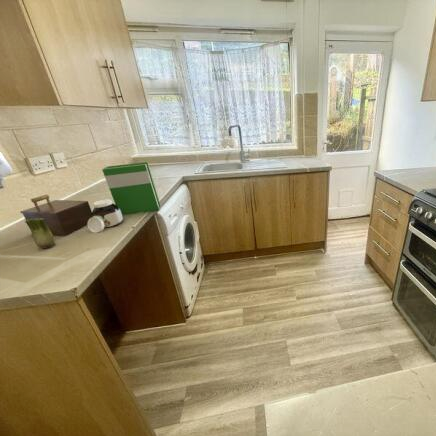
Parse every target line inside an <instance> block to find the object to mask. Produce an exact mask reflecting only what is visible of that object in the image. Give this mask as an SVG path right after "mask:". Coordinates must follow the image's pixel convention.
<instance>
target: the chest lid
mask: <svg viewBox="0 0 436 436" xmlns="http://www.w3.org/2000/svg"><path fill="white" fill-rule="evenodd" d="M44 200H45V201H46V203H42V204H39V205H38V202H41V201H44ZM30 201H31V203H33V205H34V206H33V207H29V208H27V209H24V210H21V211H19V212H20V214H23V213H25V214H50V215H57V214H60V213H62V212H65V211H68V210H70V209H73V208H76V207H78V206H81V205H83V204H86V203H89V201H88V200H68V199H67V200H66V199H54V200H52V201H51V200H50V195H48V194H44V195H39V196H37V197H33V198H31V199H30Z"/></svg>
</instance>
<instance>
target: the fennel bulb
mask: <svg viewBox="0 0 436 436" xmlns="http://www.w3.org/2000/svg"><path fill="white" fill-rule="evenodd" d="M34 221H35V222H34ZM34 221H33V219H30V220H26V219H25V220H24V222H25V223H26V225H27V227H28V228H29V230H30V232H31V235H32V236H31V237H32V239H33V241H34V243H35V245H36V246H37V247H38V248H40V249H48V248H51V247H53V246H55V244H56V242H55V241H56V240H55V238H54V235H52V233H51V231H50V229H49V228H48V226H47V224H46V222H45V220H44V218H42V219H38V218H37V219H34Z"/></svg>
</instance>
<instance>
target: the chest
mask: <svg viewBox="0 0 436 436" xmlns="http://www.w3.org/2000/svg"><path fill="white" fill-rule="evenodd" d="M92 212H93V210H92V208H91V206H90V204H89V202H88V203H86V204H83V205H81V206H78V207H76V208H73V209H70V210H68V211H65V212H62V213H60V214H57V215H50V214H25V213H22V215H23V217H24V220H25V221H26V220H30V219H33V221H34V219H37V218H38V219H42V218H44V220H45V222H46V224H47V226H48V228H49V229H50V231H51V233H52V235H53V236H56V237H57V236H58V237H67V236H69V235H71V234H73V233H75V232H77V231H80V230H81V229H84V228H85V227H88V226H87V223H88V220H89V219H90V218H92V217H93V216H92ZM34 222H35V221H34Z"/></svg>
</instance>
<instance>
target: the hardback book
mask: <svg viewBox="0 0 436 436" xmlns="http://www.w3.org/2000/svg"><path fill="white" fill-rule="evenodd" d="M101 171H102V173H103V176H104V178H105V181H106V184H107V187H108V189H109V191H110V194H111V196H112V199H113V202H114V204H115V205H117V206H118V207H119V209H120V211H121V213H122V216H130V215H134V214H142V213H150V212H156V211H160V207H161V203H160V199H159V196H158V193H157V189H156V186H155V182H154V178H153V176H152V173H151V170H150V166H149V163H148V161H144V162H135V163H127V164H118V165H109V166H105V167H104V168H102V169H101Z"/></svg>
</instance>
